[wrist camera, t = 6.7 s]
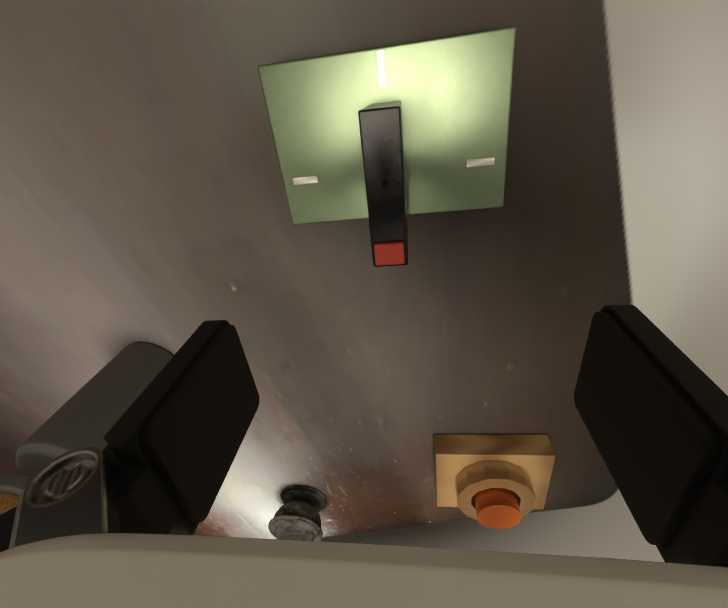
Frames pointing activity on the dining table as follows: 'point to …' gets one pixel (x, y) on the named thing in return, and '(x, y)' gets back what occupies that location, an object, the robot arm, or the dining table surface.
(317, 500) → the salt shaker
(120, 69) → the dining table surface
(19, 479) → the bottle
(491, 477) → the button block
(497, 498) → the button
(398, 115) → the black block
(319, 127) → the clamp panel
